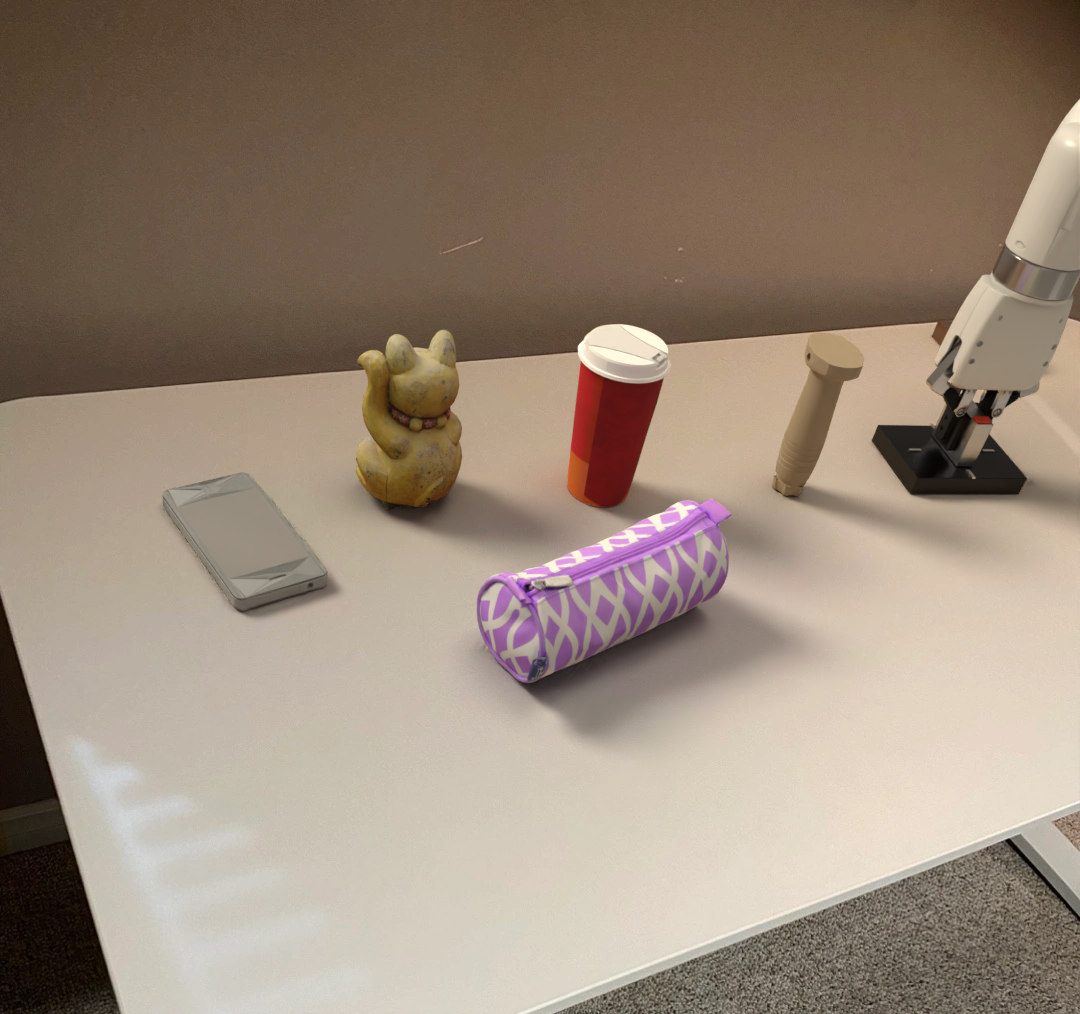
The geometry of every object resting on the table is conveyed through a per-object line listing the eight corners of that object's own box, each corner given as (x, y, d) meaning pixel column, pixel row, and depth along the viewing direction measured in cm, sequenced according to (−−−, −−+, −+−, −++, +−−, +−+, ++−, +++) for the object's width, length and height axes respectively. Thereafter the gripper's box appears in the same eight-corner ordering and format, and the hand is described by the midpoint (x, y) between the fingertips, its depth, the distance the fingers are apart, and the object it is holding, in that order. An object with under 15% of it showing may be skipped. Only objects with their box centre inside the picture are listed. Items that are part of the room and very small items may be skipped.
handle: (774, 507, 106) (823, 366, 96) (755, 469, 111) (800, 331, 100) (819, 508, 107) (873, 369, 97) (798, 471, 112) (848, 334, 101)
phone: (249, 482, 97) (248, 470, 96) (332, 585, 89) (332, 573, 88) (160, 503, 93) (158, 491, 93) (238, 614, 85) (237, 601, 84)
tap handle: (931, 435, 117) (951, 391, 113) (947, 435, 117) (968, 391, 113) (956, 466, 113) (977, 422, 109) (973, 466, 113) (994, 422, 109)
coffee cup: (653, 487, 106) (689, 344, 95) (614, 525, 101) (648, 378, 90) (579, 454, 108) (607, 310, 97) (538, 490, 103) (562, 342, 92)
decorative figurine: (434, 460, 104) (446, 310, 93) (479, 507, 100) (497, 356, 89) (343, 482, 99) (345, 328, 89) (386, 532, 95) (394, 376, 84)
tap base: (974, 441, 121) (983, 424, 120) (1019, 494, 115) (1028, 477, 113) (870, 440, 118) (878, 422, 117) (910, 495, 112) (918, 477, 110)
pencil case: (528, 714, 82) (545, 620, 75) (455, 643, 86) (465, 548, 80) (724, 615, 94) (754, 526, 87) (650, 557, 98) (674, 468, 91)
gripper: (1087, 259, 106) (1003, 425, 119) (942, 251, 102) (872, 423, 115) (1129, 295, 101) (1037, 464, 114) (979, 287, 97) (902, 463, 110)
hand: (955, 442), depth 114 cm, fingers closed on tap handle, 2 cm apart
